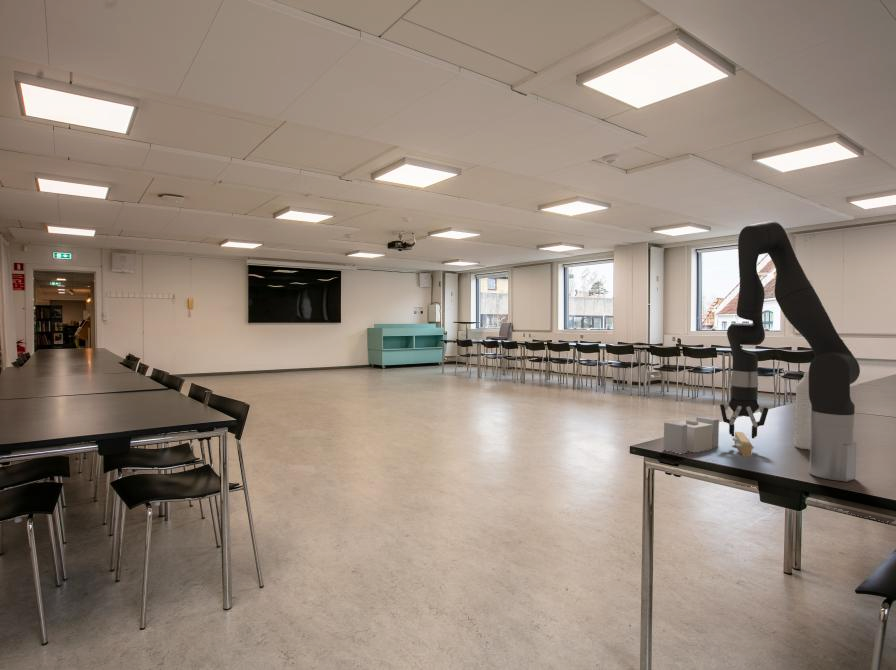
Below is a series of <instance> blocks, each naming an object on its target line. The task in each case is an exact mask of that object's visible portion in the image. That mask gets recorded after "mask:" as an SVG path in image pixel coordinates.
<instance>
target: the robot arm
mask: <svg viewBox="0 0 896 670" xmlns="http://www.w3.org/2000/svg"><path fill="white" fill-rule="evenodd" d="M737 239H738V241H737V253H738V255H737V256H738V273H739V276H738V277H739V288H738V289H739V290H738V298H737V305H736V315H737V317H738V318H739V319H740V318H741V319H742V320H747V321H751V323H746V322H744V323H743V322H739V323H738V322H735V323H731V324H730V325H729V326H728V327H727V330H726V336H727V341H728V344H729V346H730V349H731V357H732V368H731V369H732V371H731V377H730V400H729V402H728V403H727V402H726V403H719V407H720V408H719V409H720V412H721V415H722V416H721V417H722V421H723V423H726V424H728V426H729V428H728V433H729V435H730V436H731V437H735V422H736V420H737V418H738V417H747V418H749V420H750V421H751V424H752V426H751V439H755V438H756V437H757V436H758V427H760V426H761V427H762V426H764V425H765V422H766V419H767V415H768V412H769V408H768V406H762V405H760V404H759V403H758V395H759V394H758V388H759V387H758V386H759V376H758V361H759V360H758V359H759V358H758V355H757V354H756V353H754V352H749V351H745V350H744V349H742V348H741V346H759V345H761V344H762V343H764V340H765V338H766V333H765V328H764V321H763V310H764V303H765V295H766V294H765V287H764V285H763V283H762V280H761V278H760V277H759V274H758V270H757V269H758V267H757V266H758V265H757V264H758V259H759V256H760V255H765V254H768V257H770V259H771V262H772V263H773V265H774V267H775V273H776V274H775V282H774V298H775V300H776V302H777V304H778V307H779V308H780V310H781V312H782V314H783V316H784V317H785V318H786V319H787V321H788V322H789V323H790V324H791V325H792V327H793V328H794V329H795V330H796V331H797V332H798V333H799V334H800V335H801V336H802V337H803V338H804V340H805V341H806V342H807V343H808V345H809V346H810V348H811V351H812V352H813V354H814V356H815V357H813V359H812V360H811V361H810V364H809V367H808V373H809V399H810V402H811V437H810V450H809V470H808V471H809V474H810V475H812V476H814V477H817V478H821V479H826V480H830V481H831V480H832V481H840V482H845V483H846V482H847V483H848V482H850V481H853V480H855V479H856V474H857V473H856V471H857V470H856V469H857V445H858V444H857V442H855V441H854V439H855V437H854V436H855V410H856V409H855V407H856V406H855V404H854V402H853V401H852V398H851V384H853V383H855V382H856V381H857V380H858V379H859V377H860V372H861V367H860V365H859V362H858V360H857V359H856V357H855V356H854V354H853V353H852V352H851V351H850V349H849V347H848V346H847V345H846V343H845V342H844V341H843V340H842V338H841V337H840V335H839V333H838V332H837V330H836V328H835V326H834V324H833V322H832V321H831V318H830V317H829V314H828V312H827V311H826V309H825V307H824V306H823V303H822V301H821V299H820V297H819V296H818V294H817V292H816V290H815V288H814V287H813V285H812V283H811V282H810V280H809V279H808V277H807V274H806V273H805V271H804V269H803V267H802V266H801V264H800V262H799V259H798V258H797V255H796V253H795V251H794V248H793V246H792V243H791V241H790V239H789V236H788V234H787V232H786V230H785V229H784V227H783V226H782V224H780V223H779V222H777V221H773V220H772V221H771V220H770V221H765V222H764V221H763V222H757V223H752V224H749V225H746V226H745V227H742V229H741V230H740V233H739V235H738V238H737ZM728 407H729V408H730V409H731V410H732V414H731V417H730V418H728V417H727V413H726V411H728ZM757 410H759V412H760V413H761V415H760V418H759V420H758V421H757V420H756V417H755V413H756V412H757Z"/></svg>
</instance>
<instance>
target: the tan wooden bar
mask: <svg viewBox="0 0 896 670" xmlns="http://www.w3.org/2000/svg"><path fill="white" fill-rule="evenodd" d="M733 441H734V445H735V447H736V448H737V449H738V451H739V453H740V454H742V455H741V456H742V457H747V456H749V458H752V451H753V450H754V448H755V447H754V445H752V443H751V441H750V438H749V439H748V437H747V436H746V435H745V433H744V432H743V431H734V436H733V437H732V442H733Z"/></svg>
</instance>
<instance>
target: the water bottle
mask: <svg viewBox="0 0 896 670" xmlns="http://www.w3.org/2000/svg"><path fill="white" fill-rule="evenodd" d="M795 393H796V394H795V397H796V398H795V411H794V413H795V417H794V421H795V422H794V432H795V433H794V443H793V446H794V447H795V448H798V449H802V450H803V449H804V450H807V449H808V450H809V451H810V437H811V402H810V399H809V372H804V373H803V377H802V378H801V379H800V380H799V382H798V383H797V384H796V385H795Z"/></svg>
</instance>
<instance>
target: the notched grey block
mask: <svg viewBox="0 0 896 670" xmlns="http://www.w3.org/2000/svg"><path fill="white" fill-rule="evenodd" d="M695 418H696V420H694V419H692V420H691V419H686V420H683V421H677V422H674V421H664V423H663V450H668V451H672V452H677V453H681V454H682V453H688V452H687V451H690V452H689V453H691V452H694V453H693V454H696V453H695V452H697V453H701V452H700V451H702V452H705V450H706V451H710V449H711V450H713V447H714V448H717V446H718V447H719V437H720V436H719V435H720V434H719V432H720V431H719V430H720V428H719V427H720V419H718V418H712V417H707V416H697V417H695ZM668 451H667V452H668ZM672 452H671V453H672ZM682 455H683V454H682Z"/></svg>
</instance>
